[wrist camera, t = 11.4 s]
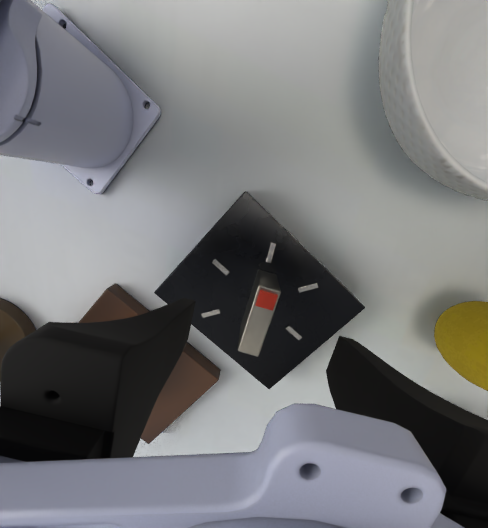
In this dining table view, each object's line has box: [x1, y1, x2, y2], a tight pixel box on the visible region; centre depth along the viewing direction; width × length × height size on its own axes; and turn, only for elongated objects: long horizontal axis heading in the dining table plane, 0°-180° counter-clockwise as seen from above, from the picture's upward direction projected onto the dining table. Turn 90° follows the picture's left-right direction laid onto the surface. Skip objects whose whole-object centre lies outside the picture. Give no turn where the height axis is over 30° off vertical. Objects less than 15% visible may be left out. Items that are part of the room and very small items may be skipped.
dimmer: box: [154, 192, 365, 389], centre depth 21 cm, size 12×10×3 cm
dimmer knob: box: [238, 270, 281, 356], centre depth 18 cm, size 5×1×4 cm, turn 164°
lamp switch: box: [79, 284, 221, 444], centre depth 23 cm, size 12×10×3 cm
